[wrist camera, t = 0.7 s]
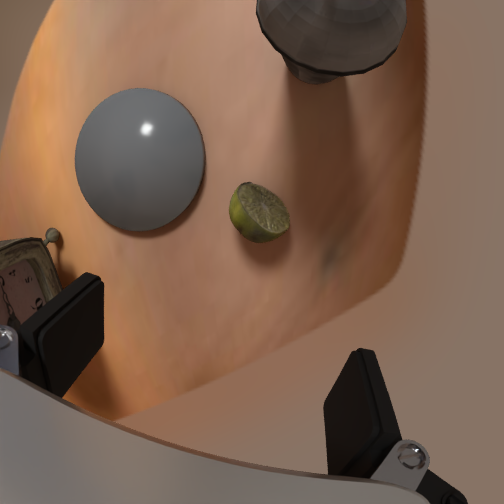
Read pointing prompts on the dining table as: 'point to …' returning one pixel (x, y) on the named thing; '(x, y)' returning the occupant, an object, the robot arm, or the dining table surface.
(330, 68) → the beverage cup
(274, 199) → the lime
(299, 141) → the dining table surface
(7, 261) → the tabletop clock
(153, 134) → the slate plate
